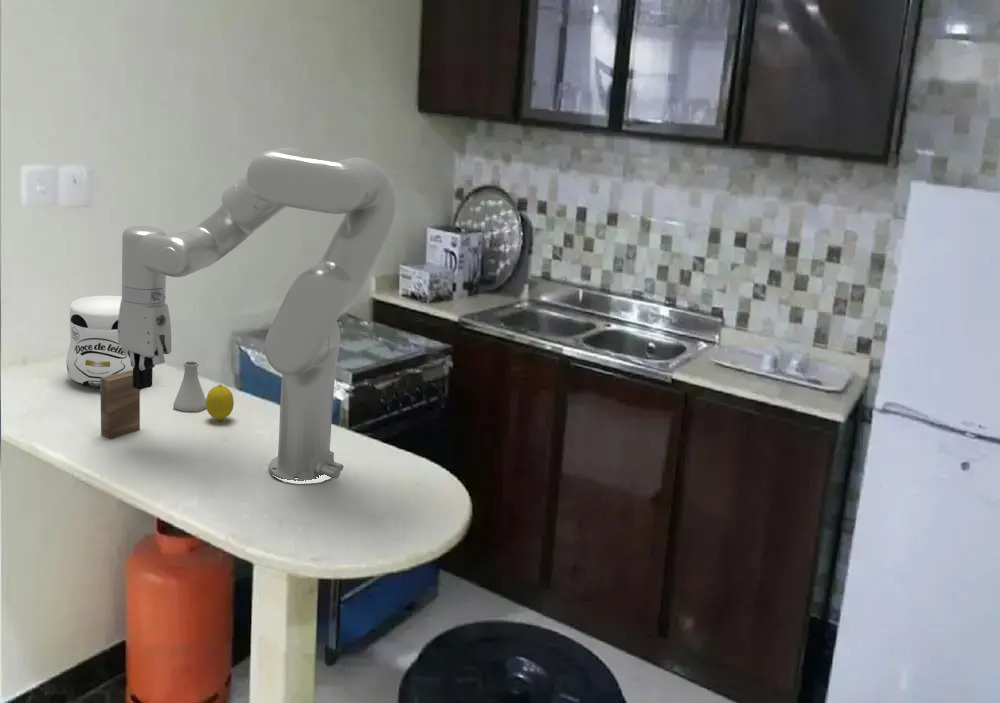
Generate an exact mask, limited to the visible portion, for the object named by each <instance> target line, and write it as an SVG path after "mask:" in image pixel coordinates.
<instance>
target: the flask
mask: <svg viewBox="0 0 1000 703" xmlns="http://www.w3.org/2000/svg"><path fill="white" fill-rule="evenodd" d="M199 363H200V362H199V361H196V360H185V361H183V362H182V364H183V367H184V372H183V379H182V381H181V384H180V386H179V390H178V392H177V394H176V397H175V398H174V401H173V407H172V408H173V409H174V410H179V411H181V412H200V411H202V410H205V409H207V408H206V398H207V397H205V396H206V395H205V393H204V391H203V389H202V385H201V381H200V379H199V373H198V367H199Z"/></svg>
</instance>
